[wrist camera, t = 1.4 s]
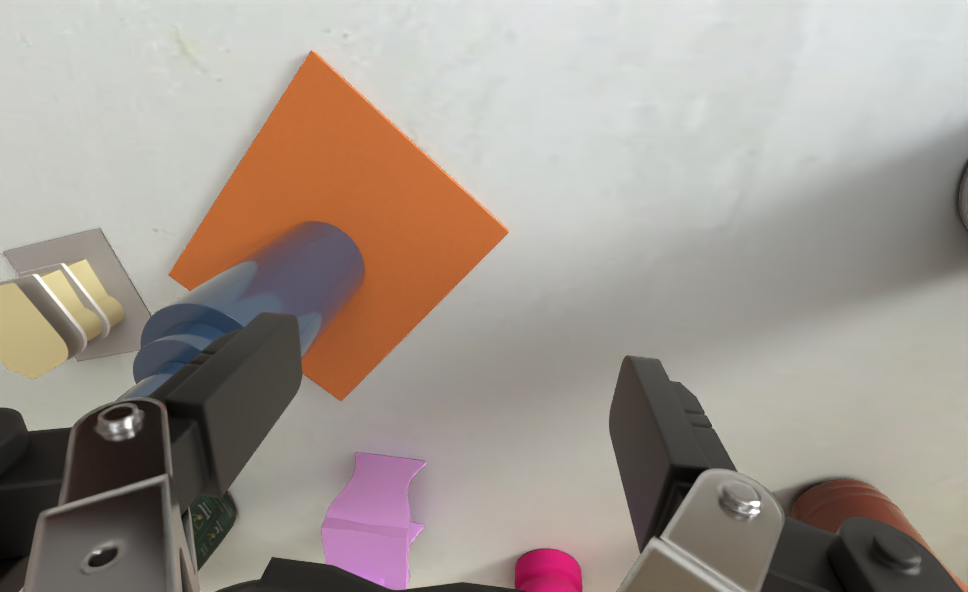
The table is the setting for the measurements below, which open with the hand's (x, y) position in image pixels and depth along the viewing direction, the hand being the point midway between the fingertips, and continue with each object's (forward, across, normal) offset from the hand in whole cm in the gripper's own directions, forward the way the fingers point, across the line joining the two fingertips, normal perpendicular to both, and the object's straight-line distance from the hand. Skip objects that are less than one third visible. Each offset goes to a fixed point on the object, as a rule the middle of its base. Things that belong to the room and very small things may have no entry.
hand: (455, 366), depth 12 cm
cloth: (+21, +11, +6) cm, 25 cm away
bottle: (+21, +12, +7) cm, 25 cm away
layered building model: (+22, +31, +12) cm, 40 cm away
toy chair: (+22, +7, +28) cm, 36 cm away
